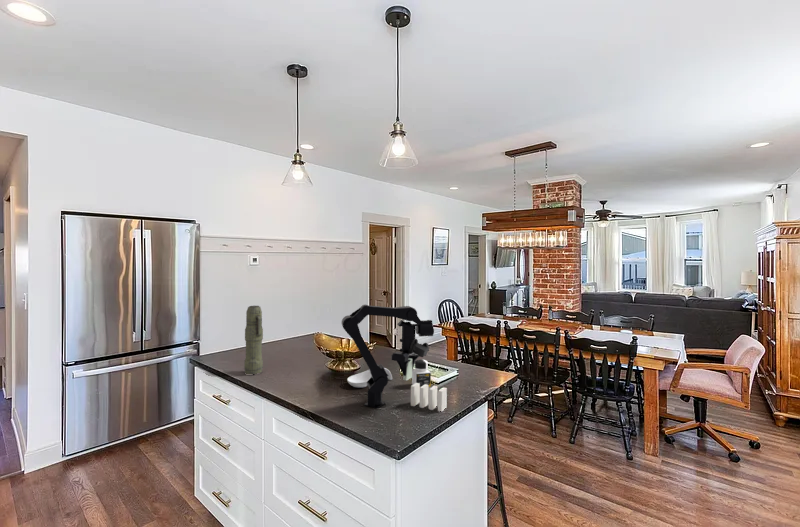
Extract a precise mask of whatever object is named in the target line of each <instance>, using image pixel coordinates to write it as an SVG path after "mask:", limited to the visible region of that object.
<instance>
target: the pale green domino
mask: <svg viewBox="0 0 800 527" xmlns="http://www.w3.org/2000/svg"><path fill="white" fill-rule="evenodd" d="M409 360H411V361H410V362H409V363H408V366H407V373H406V376H404V375H403V374H402V380H403V381H409V380H410V379H412V359H411V358H409Z"/></svg>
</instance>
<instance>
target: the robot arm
mask: <svg viewBox="0 0 800 527" xmlns="http://www.w3.org/2000/svg"><path fill="white" fill-rule="evenodd" d="M367 316H377V317H387V318H388V317H389V318H397V319H400V320H399V322H398V323H397V324H396V326H398V327H401V338H400V339H399V342H400V343H401V348H399V351H395V352H393V353H392V354H391V358H390V359H391V361H396V362H397V364H398V366H399V369H400V371H401V372H402V376H403V375H404V376H406V373H407V366H408V363H409V362H410V361H411V360H409V358H411V359H412V370H413V369H414V368H415V361H416V360H418V358H424V357H426V356H427V354H428V352H429V351H430V348H429V343H428V342H423V343H419V342H418V338H416V335H418V337H433V336H434V334H435V333H434V332H435V329H434V324H433V320H432V319H426V320H421V319H420V317H419V316H418V311H417V310H416V308H414V307H412V306H410V305H405V306H404V305H402V306H397V307H396V306H395V307H392V306H391V307H389V306H381V305H380V306H377V305H368V304H362V305H361V306H359V308H357V309H356V310H355V311H353V312H352V313H350V314H349V315H345V316H343V318H342V320H341V327H342V329H343V330H344V331H345V332H346V333H347V335H348V336H349V337H350V338H351V339H352V340H353V342H354V344H355V346H356V347H357V349H358V351H359V352H360V355H361V356H362V358H363V360H364V362H365V364H366V365H367V367H368V370H369V371H370V374H371V378H370V379H369V380H368V381H367V388H368V389H367V402H365V403H364V404H363V405H364V406H366V407H371V408H375V409H379V408H381V407H382V406H383V405H386V401H383V392H384V389H385V387H386V386H387V385H388V383H389V379H388V377H387V376H388V374H387V373H386V371H385V369H384V368H385V367H384V365H383V364H382V363H380V364H378V363H377V361H376V360H375V358H374V356H373V354H372V352H371V350H370V349H369V347H368V346H367V344H366V342H365V340H364V339H363V337H362V334H361V331H360V326H359V324H361V323H362V321H363V320H364V319H365V318H366V317H367Z"/></svg>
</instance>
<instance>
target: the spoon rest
mask: <svg viewBox="0 0 800 527" xmlns="http://www.w3.org/2000/svg"><path fill="white" fill-rule="evenodd" d="M384 369H385V371H386V373H387V374H388V376H387V377H388V381H392V380H393V375H392V373H391V371H390V369H388V368H386V367H384ZM370 378H371V374H370V371H369V369H367V370H365V371H362V372H359V373H356V374H352V375H350V376H349V377H347V379H346V380H347V383H348V384H349V385H350V386H352V387H353V388H357V389H358V388H359V389H360V388H366V387H368V385H367V381H368V380H369V379H370Z"/></svg>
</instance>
